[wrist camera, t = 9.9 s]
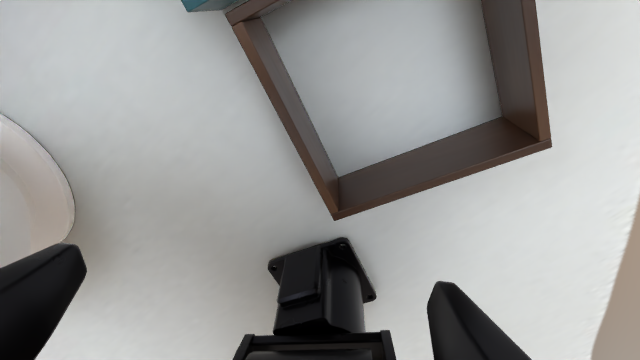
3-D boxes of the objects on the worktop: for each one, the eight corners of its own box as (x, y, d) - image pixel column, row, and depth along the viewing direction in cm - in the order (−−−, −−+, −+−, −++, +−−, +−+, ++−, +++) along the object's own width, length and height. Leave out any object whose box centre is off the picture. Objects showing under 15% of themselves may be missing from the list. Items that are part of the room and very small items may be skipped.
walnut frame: (512, 120, 18) (552, 147, 15) (334, 186, 21) (334, 221, 17) (472, -112, 13) (518, -151, 10) (247, 11, 16) (224, 14, 12)
